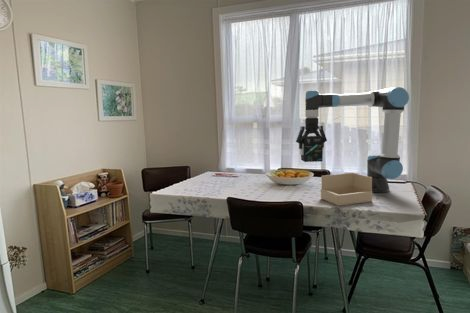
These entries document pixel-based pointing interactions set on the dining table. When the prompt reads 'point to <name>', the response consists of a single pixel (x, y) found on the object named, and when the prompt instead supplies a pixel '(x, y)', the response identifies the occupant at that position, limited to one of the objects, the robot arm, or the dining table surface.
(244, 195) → the dining table surface
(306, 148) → the tampon box
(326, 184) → the carton
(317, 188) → the dining table surface
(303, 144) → the robot arm
